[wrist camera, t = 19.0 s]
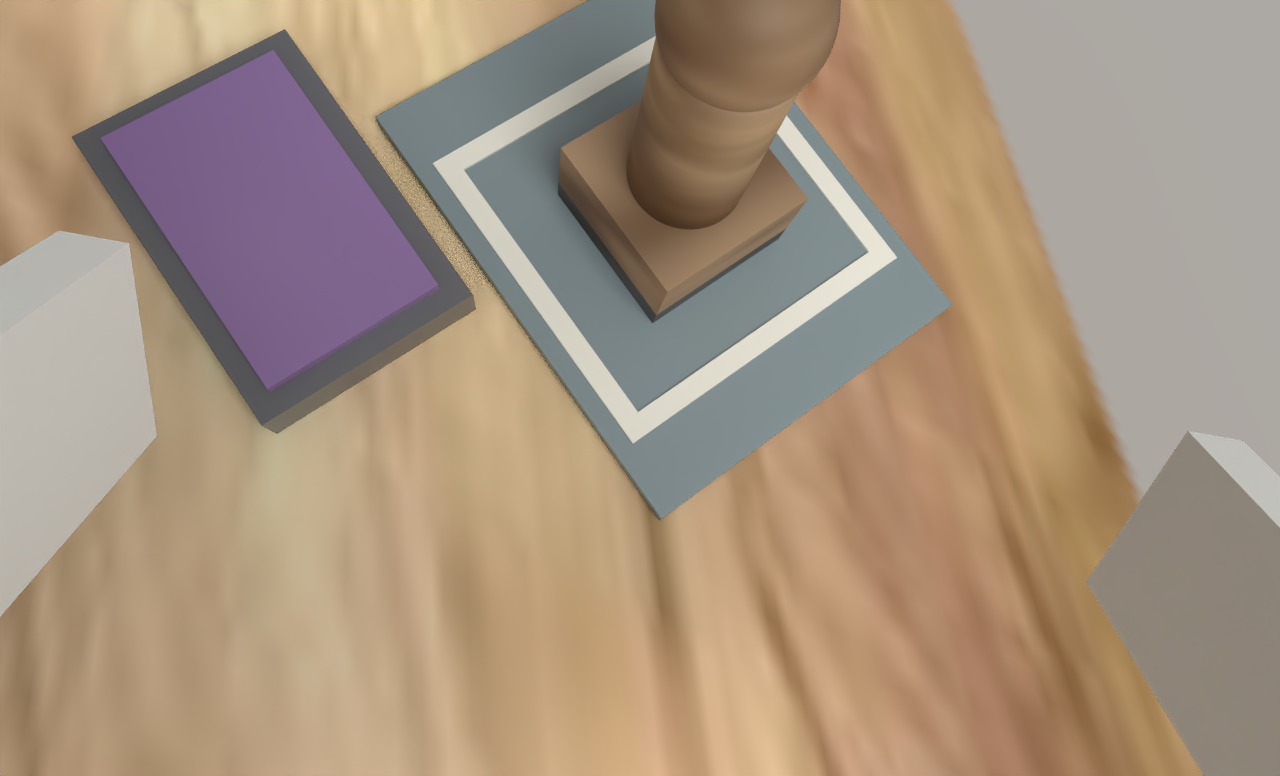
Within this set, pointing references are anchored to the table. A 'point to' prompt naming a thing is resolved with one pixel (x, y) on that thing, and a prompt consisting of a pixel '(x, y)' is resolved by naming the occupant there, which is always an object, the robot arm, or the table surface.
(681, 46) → the stamp
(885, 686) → the table surface
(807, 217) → the form board
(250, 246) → the ink pad
